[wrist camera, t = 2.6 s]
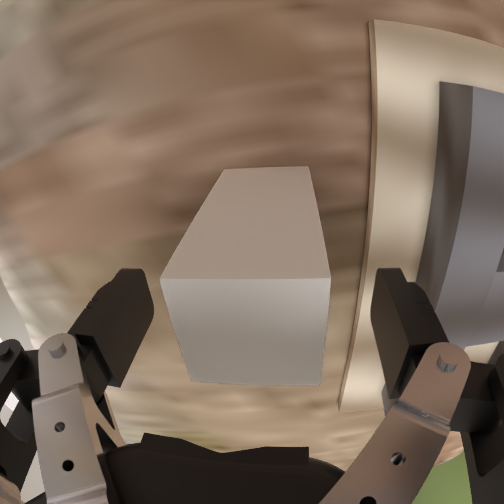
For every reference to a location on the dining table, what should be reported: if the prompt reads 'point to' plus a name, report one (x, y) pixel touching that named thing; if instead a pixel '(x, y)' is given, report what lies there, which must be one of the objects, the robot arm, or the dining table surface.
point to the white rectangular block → (252, 281)
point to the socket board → (433, 193)
